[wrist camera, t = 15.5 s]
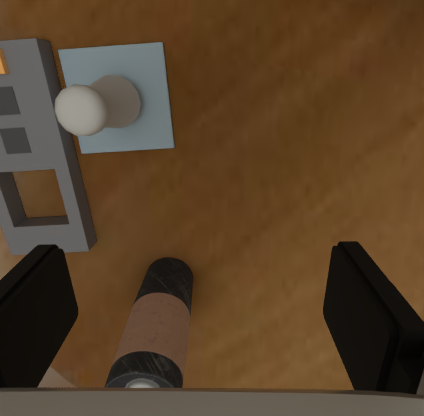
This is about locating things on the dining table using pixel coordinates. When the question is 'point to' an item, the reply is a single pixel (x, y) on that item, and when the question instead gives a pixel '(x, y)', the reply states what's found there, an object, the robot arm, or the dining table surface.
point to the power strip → (37, 150)
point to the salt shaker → (97, 106)
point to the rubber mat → (141, 80)
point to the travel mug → (156, 330)
